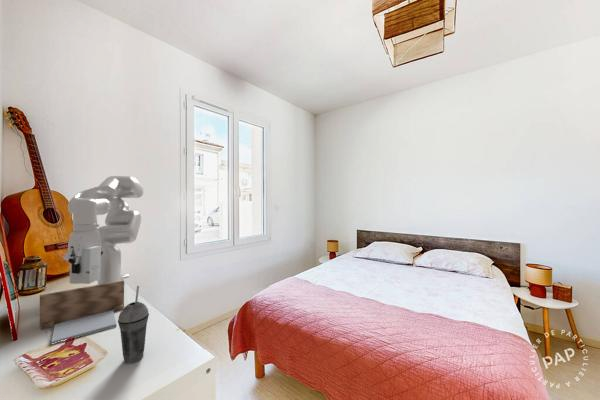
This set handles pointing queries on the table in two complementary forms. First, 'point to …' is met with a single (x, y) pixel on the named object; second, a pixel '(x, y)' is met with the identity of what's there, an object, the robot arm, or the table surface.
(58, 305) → the walnut screen
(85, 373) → the table surface
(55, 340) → the mat
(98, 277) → the skincare box
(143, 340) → the beverage cup
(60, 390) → the table surface
